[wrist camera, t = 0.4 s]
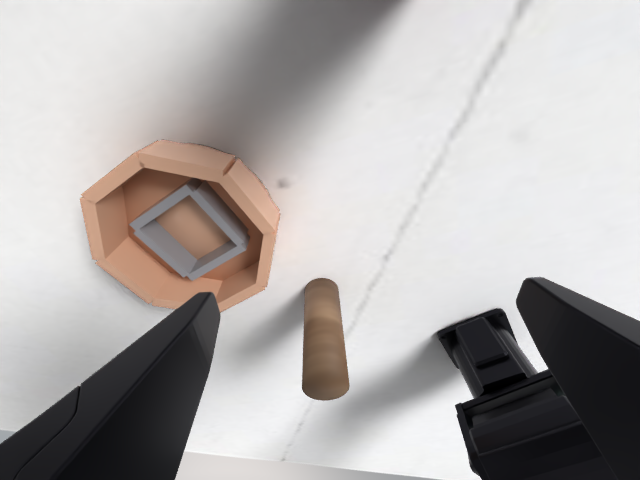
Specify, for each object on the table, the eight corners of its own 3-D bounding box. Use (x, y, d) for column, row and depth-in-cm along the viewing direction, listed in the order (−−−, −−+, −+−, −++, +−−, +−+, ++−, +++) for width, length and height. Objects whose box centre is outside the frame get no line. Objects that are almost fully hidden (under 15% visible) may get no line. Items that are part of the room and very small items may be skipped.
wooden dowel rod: (344, 294, 27) (357, 390, 19) (316, 308, 27) (318, 405, 20) (327, 272, 25) (334, 366, 18) (298, 287, 26) (292, 383, 18)
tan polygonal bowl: (306, 240, 23) (305, 268, 20) (198, 299, 26) (183, 331, 23) (203, 106, 18) (181, 115, 15) (82, 199, 21) (43, 223, 18)
